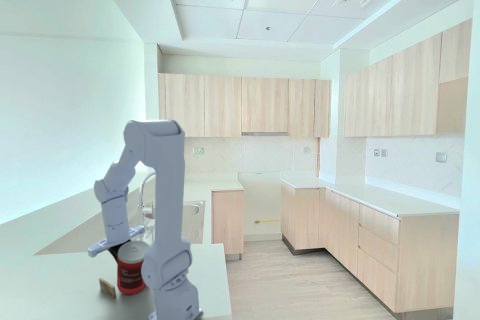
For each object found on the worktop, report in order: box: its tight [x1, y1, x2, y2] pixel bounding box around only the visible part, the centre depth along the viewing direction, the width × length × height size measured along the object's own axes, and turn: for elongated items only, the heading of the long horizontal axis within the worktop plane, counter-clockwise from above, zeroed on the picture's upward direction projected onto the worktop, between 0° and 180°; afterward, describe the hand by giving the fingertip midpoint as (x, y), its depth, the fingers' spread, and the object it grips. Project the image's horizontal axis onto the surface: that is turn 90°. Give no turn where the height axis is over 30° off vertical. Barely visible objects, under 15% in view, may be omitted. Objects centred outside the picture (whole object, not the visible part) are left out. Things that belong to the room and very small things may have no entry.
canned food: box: [116, 239, 151, 296], centre depth 59 cm, size 8×8×11 cm
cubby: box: [98, 277, 117, 299], centre depth 63 cm, size 7×10×3 cm
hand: (122, 267), depth 62 cm, fingers closed, pressing on canned food
